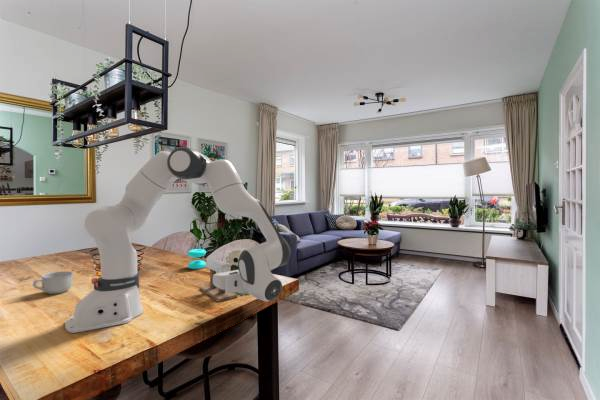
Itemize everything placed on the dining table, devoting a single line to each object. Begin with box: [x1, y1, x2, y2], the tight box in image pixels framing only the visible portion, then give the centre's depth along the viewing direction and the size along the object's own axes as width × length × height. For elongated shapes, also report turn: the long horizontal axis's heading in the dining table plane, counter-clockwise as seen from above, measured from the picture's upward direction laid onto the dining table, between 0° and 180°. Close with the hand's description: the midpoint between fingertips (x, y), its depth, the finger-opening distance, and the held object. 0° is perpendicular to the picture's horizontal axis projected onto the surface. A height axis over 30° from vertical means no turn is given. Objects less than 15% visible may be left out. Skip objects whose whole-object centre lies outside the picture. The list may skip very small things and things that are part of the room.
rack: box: [199, 269, 238, 303], centre depth 127 cm, size 8×20×10 cm, turn 40°
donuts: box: [187, 248, 207, 270], centre depth 171 cm, size 10×10×10 cm
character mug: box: [225, 249, 243, 271], centre depth 152 cm, size 11×7×13 cm, turn 130°
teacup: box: [32, 270, 74, 295], centre depth 128 cm, size 14×11×8 cm
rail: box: [206, 256, 230, 273], centre depth 127 cm, size 3×16×4 cm, turn 40°
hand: (231, 271), depth 117 cm, fingers open, 8 cm apart
